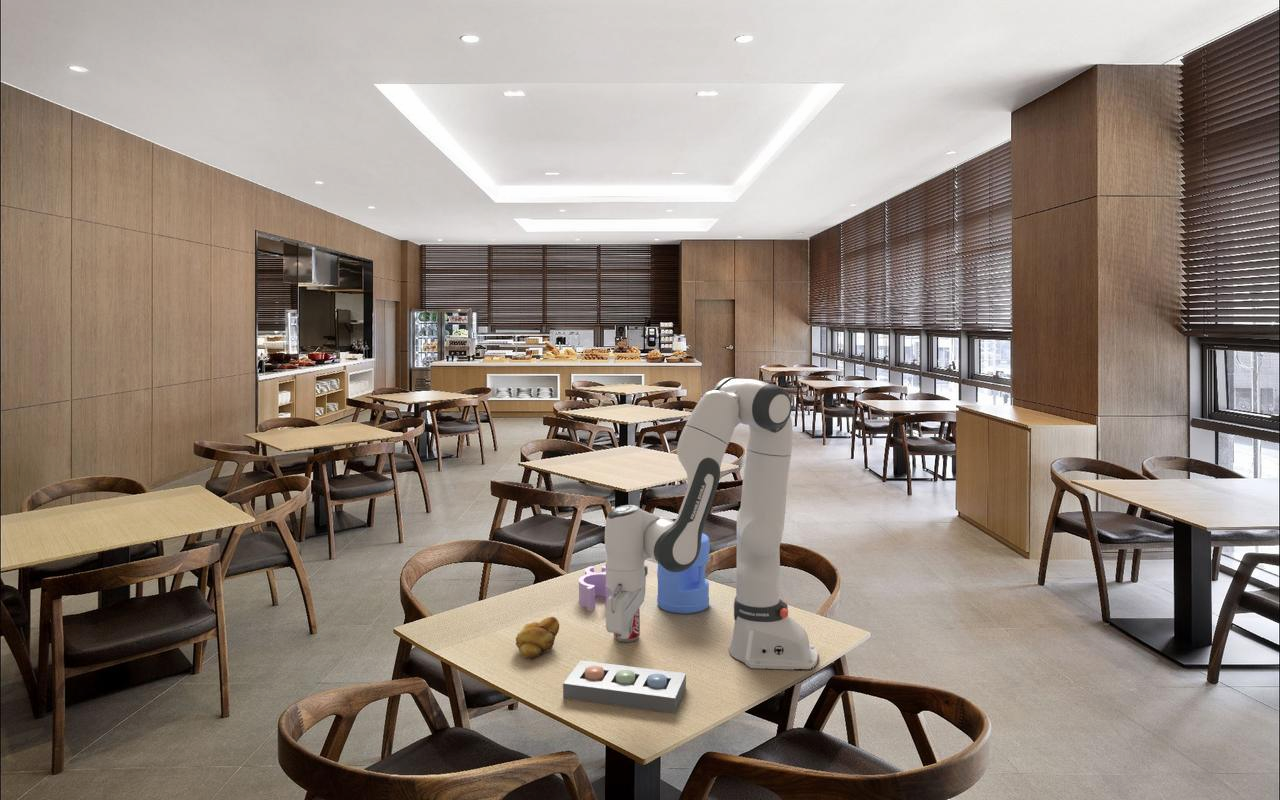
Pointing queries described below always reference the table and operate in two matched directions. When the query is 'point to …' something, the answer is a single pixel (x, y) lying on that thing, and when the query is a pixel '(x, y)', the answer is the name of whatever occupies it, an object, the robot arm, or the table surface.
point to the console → (625, 688)
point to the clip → (592, 587)
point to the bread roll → (537, 637)
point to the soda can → (635, 629)
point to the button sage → (625, 677)
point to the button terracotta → (594, 673)
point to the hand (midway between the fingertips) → (626, 636)
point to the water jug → (685, 585)
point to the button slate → (657, 681)
